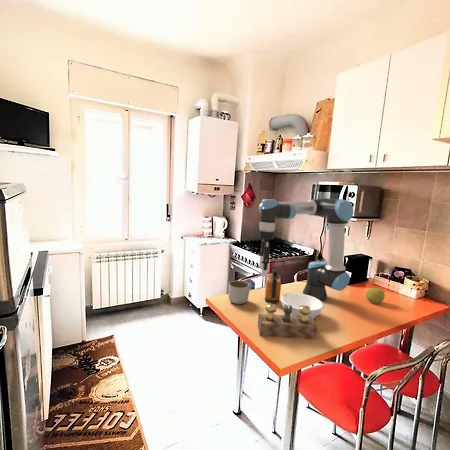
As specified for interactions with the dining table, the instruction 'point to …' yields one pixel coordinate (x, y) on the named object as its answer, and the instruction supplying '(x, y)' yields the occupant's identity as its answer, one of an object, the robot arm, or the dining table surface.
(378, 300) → the fruit
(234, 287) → the planter
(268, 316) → the knob
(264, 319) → the mount
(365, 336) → the dining table surface
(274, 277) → the canister
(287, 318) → the pot knob
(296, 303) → the bowl
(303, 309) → the knob
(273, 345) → the dining table surface
